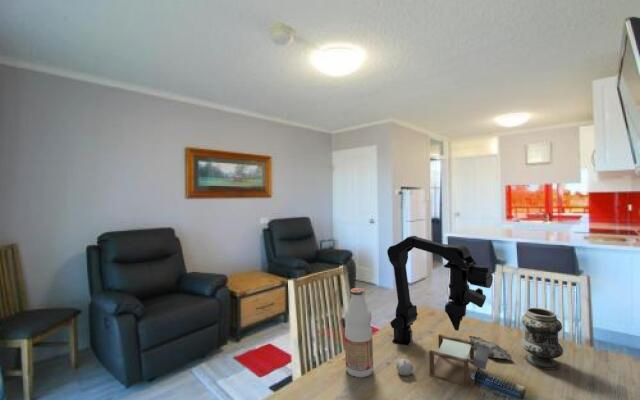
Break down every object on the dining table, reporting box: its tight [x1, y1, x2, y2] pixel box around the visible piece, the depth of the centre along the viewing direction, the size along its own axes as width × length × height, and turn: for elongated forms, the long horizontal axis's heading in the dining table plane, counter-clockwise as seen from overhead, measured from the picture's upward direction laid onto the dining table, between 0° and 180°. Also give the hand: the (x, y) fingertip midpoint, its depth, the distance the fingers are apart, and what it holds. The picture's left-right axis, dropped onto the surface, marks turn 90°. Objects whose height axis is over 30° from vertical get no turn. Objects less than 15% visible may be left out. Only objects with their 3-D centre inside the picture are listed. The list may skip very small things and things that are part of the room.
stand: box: [428, 333, 479, 389], centre depth 106 cm, size 13×15×8 cm
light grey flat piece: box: [437, 339, 489, 370], centre depth 105 cm, size 14×11×2 cm
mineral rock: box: [468, 335, 512, 360], centre depth 117 cm, size 15×8×4 cm, turn 15°
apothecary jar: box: [520, 307, 564, 371], centre depth 110 cm, size 12×12×18 cm
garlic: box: [396, 358, 414, 376], centre depth 105 cm, size 6×5×5 cm
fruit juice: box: [344, 287, 374, 378], centre depth 108 cm, size 9×9×28 cm
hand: (458, 325), depth 110 cm, fingers open, 9 cm apart
